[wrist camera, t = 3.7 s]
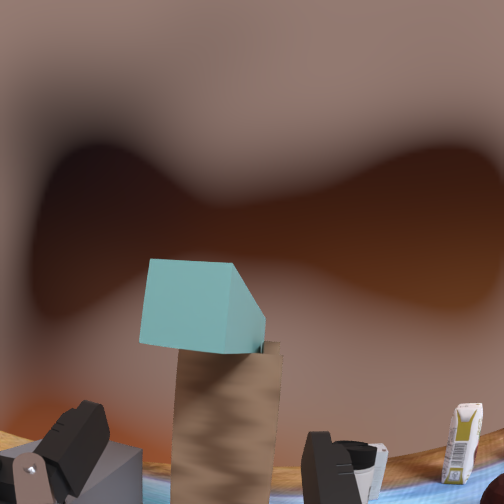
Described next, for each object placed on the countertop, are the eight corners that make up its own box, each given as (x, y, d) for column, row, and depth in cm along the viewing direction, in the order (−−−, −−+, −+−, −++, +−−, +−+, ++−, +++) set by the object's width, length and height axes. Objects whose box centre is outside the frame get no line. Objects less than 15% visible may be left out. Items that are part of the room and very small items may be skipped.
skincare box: (355, 490, 52) (363, 443, 56) (374, 489, 51) (383, 442, 55) (358, 501, 46) (367, 451, 50) (379, 500, 46) (389, 450, 49)
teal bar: (139, 342, 14) (150, 258, 15) (228, 349, 36) (231, 316, 38) (224, 353, 13) (232, 263, 14) (263, 352, 36) (265, 318, 37)
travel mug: (304, 546, 31) (322, 439, 37) (342, 538, 33) (361, 434, 39) (323, 566, 26) (346, 450, 32) (362, 554, 27) (388, 442, 33)
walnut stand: (162, 616, 13) (164, 330, 23) (181, 568, 24) (192, 337, 34) (260, 628, 13) (298, 342, 23) (259, 577, 23) (285, 344, 33)
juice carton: (437, 484, 47) (451, 409, 53) (445, 472, 53) (457, 403, 58) (467, 486, 42) (482, 408, 47) (472, 473, 47) (485, 401, 53)
